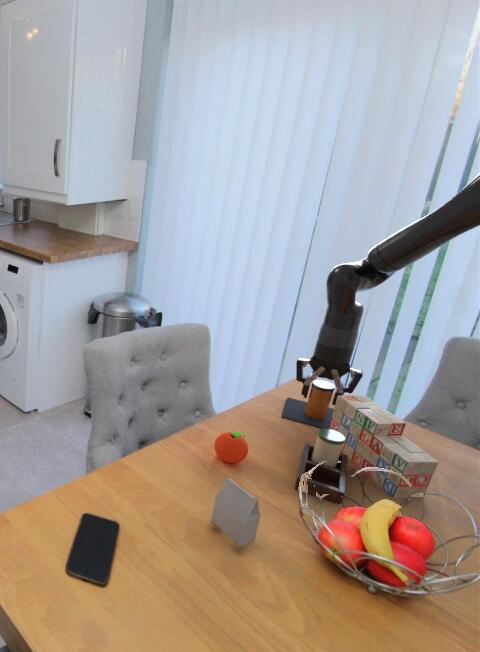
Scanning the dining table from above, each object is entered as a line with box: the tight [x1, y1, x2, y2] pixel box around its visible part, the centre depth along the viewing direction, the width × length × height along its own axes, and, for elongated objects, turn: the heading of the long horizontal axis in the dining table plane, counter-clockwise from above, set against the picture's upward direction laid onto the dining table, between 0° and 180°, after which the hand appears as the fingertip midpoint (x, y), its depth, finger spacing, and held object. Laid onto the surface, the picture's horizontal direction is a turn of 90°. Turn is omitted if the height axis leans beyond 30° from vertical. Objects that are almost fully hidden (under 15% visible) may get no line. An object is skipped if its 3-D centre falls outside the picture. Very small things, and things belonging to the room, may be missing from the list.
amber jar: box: [305, 379, 336, 419], centre depth 125 cm, size 5×5×9 cm
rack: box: [293, 442, 349, 505], centre depth 104 cm, size 8×15×3 cm, turn 142°
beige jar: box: [310, 428, 345, 469], centre depth 106 cm, size 5×5×9 cm
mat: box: [281, 397, 334, 429], centre depth 127 cm, size 14×12×1 cm
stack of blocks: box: [329, 394, 439, 499], centre depth 106 cm, size 21×6×12 cm, turn 178°
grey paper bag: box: [210, 477, 261, 547], centre depth 90 cm, size 4×7×10 cm, turn 19°
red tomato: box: [213, 431, 249, 464], centre depth 111 cm, size 8×7×7 cm
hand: (319, 400), depth 125 cm, fingers open, 5 cm apart
